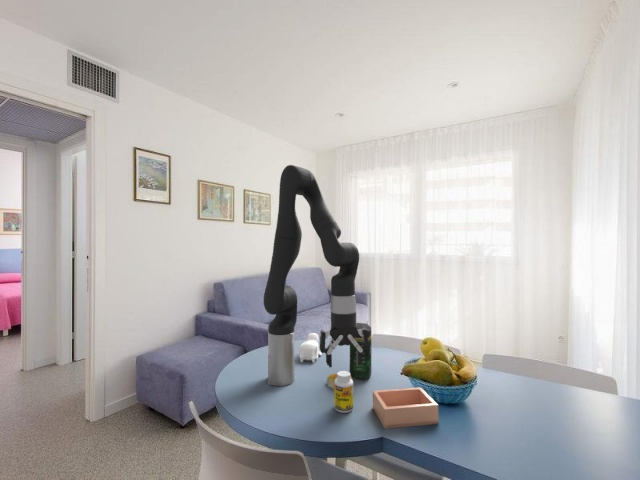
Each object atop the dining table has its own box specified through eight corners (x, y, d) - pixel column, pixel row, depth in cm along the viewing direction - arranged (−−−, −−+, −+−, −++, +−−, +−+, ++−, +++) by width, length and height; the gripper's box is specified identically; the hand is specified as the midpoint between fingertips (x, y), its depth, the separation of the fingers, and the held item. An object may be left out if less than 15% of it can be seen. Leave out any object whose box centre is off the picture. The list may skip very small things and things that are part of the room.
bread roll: (357, 386, 102) (357, 375, 102) (334, 393, 98) (334, 380, 98) (344, 377, 109) (344, 366, 109) (323, 382, 105) (323, 371, 105)
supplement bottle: (332, 411, 86) (332, 376, 86) (337, 402, 92) (336, 368, 92) (351, 415, 85) (351, 378, 85) (355, 405, 90) (354, 370, 90)
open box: (384, 428, 78) (384, 409, 78) (372, 407, 88) (372, 390, 88) (438, 423, 80) (438, 404, 80) (421, 404, 90) (420, 387, 90)
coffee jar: (370, 382, 105) (369, 329, 105) (347, 379, 107) (347, 327, 107) (373, 371, 114) (372, 322, 114) (352, 368, 116) (352, 320, 116)
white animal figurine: (318, 369, 123) (324, 344, 137) (316, 353, 120) (322, 329, 134) (298, 368, 124) (305, 343, 138) (296, 351, 121) (304, 328, 135)
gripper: (321, 314, 84) (322, 372, 84) (370, 311, 86) (371, 368, 86) (317, 308, 91) (318, 362, 91) (363, 306, 93) (364, 359, 93)
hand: (344, 365), depth 88 cm, fingers open, 8 cm apart
